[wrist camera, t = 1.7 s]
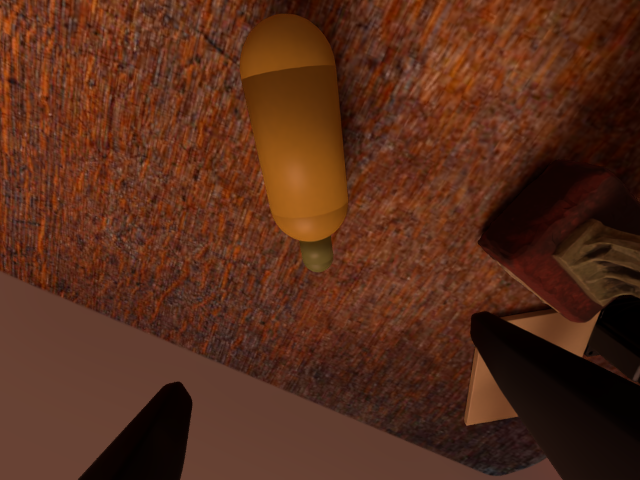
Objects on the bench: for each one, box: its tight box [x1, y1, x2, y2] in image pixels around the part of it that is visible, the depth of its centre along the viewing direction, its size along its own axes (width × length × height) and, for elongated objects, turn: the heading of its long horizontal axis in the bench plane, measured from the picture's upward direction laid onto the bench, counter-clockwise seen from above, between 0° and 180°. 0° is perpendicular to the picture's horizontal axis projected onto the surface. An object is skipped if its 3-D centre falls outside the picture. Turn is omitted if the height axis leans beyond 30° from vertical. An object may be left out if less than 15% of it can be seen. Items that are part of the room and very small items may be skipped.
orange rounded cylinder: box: [240, 13, 348, 272], centre depth 15 cm, size 14×5×5 cm, turn 7°
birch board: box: [464, 308, 600, 425], centre depth 28 cm, size 11×15×1 cm
